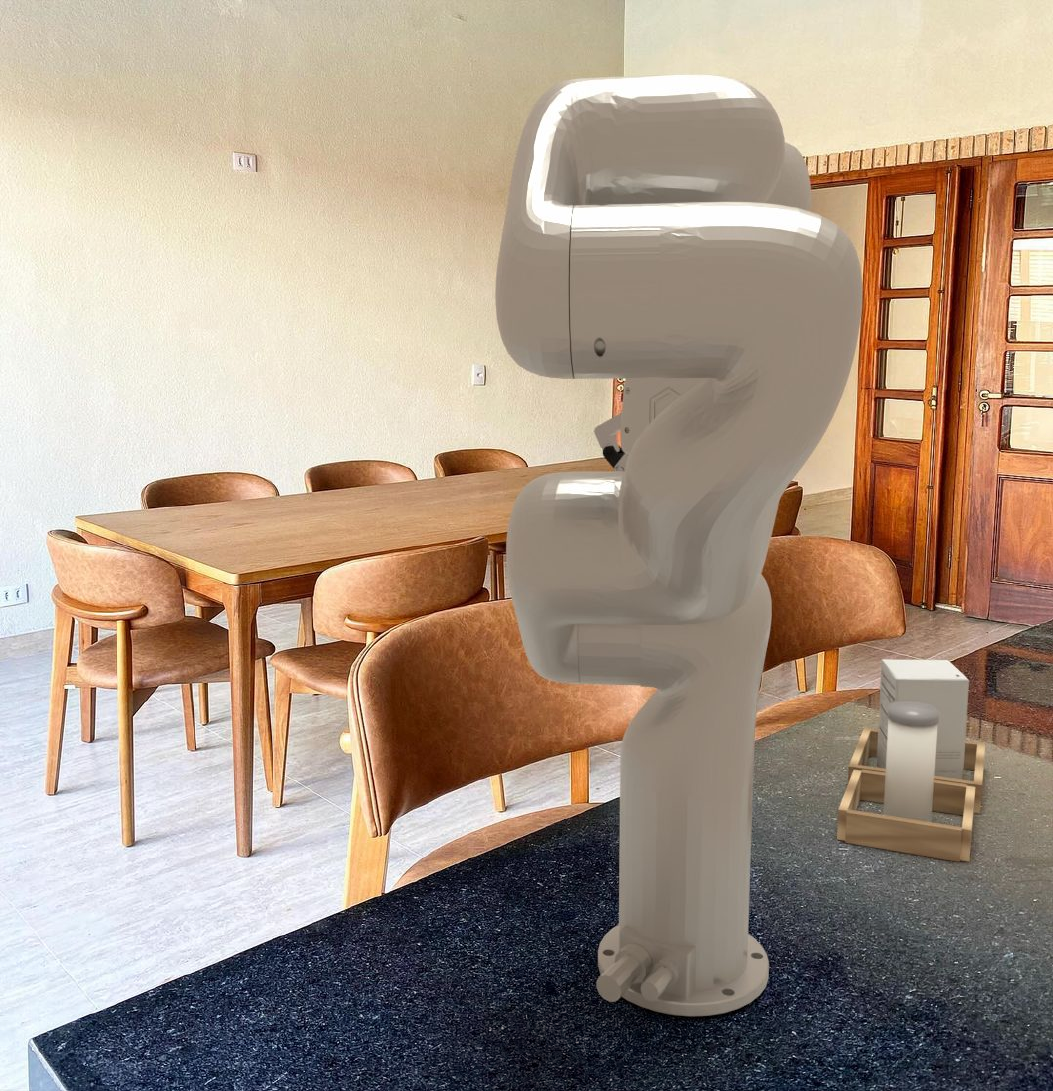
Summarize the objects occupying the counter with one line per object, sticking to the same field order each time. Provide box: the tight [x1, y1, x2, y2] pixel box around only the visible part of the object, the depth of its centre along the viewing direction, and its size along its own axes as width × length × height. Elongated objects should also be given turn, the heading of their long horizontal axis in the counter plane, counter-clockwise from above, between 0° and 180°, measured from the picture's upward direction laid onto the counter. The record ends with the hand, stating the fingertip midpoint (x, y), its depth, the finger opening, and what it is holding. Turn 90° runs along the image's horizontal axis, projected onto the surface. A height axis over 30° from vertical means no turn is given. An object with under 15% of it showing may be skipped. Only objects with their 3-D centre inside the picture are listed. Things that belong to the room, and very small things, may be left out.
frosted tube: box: [882, 701, 939, 822], centre depth 104 cm, size 5×5×12 cm
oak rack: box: [836, 727, 986, 863], centre depth 110 cm, size 25×13×3 cm, turn 156°
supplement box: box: [876, 658, 970, 780], centre depth 115 cm, size 7×7×13 cm
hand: (680, 522), depth 98 cm, fingers open, 9 cm apart
